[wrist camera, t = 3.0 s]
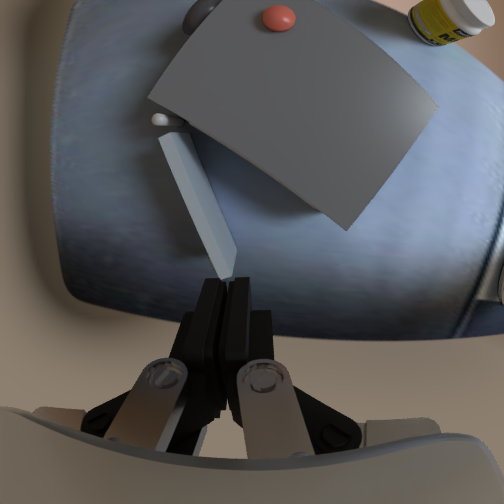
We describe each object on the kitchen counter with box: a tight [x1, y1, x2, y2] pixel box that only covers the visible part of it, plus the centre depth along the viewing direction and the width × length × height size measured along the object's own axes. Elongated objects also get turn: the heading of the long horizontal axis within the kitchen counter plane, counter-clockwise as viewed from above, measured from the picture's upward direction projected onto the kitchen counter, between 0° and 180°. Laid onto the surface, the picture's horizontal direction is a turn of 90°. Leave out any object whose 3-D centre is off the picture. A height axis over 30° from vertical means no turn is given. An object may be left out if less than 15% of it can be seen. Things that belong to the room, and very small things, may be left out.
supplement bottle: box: [408, 0, 495, 46], centre depth 10 cm, size 5×5×8 cm
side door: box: [158, 132, 237, 279], centre depth 20 cm, size 11×2×5 cm, turn 20°
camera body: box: [147, 0, 439, 231], centre depth 16 cm, size 18×13×6 cm
